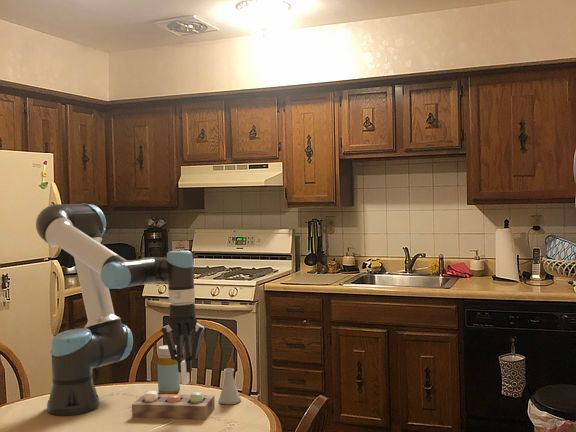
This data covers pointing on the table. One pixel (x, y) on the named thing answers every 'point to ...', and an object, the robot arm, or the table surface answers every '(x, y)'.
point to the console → (173, 408)
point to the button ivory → (151, 396)
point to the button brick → (173, 398)
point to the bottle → (167, 372)
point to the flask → (229, 389)
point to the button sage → (196, 397)
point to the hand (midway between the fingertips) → (185, 383)
